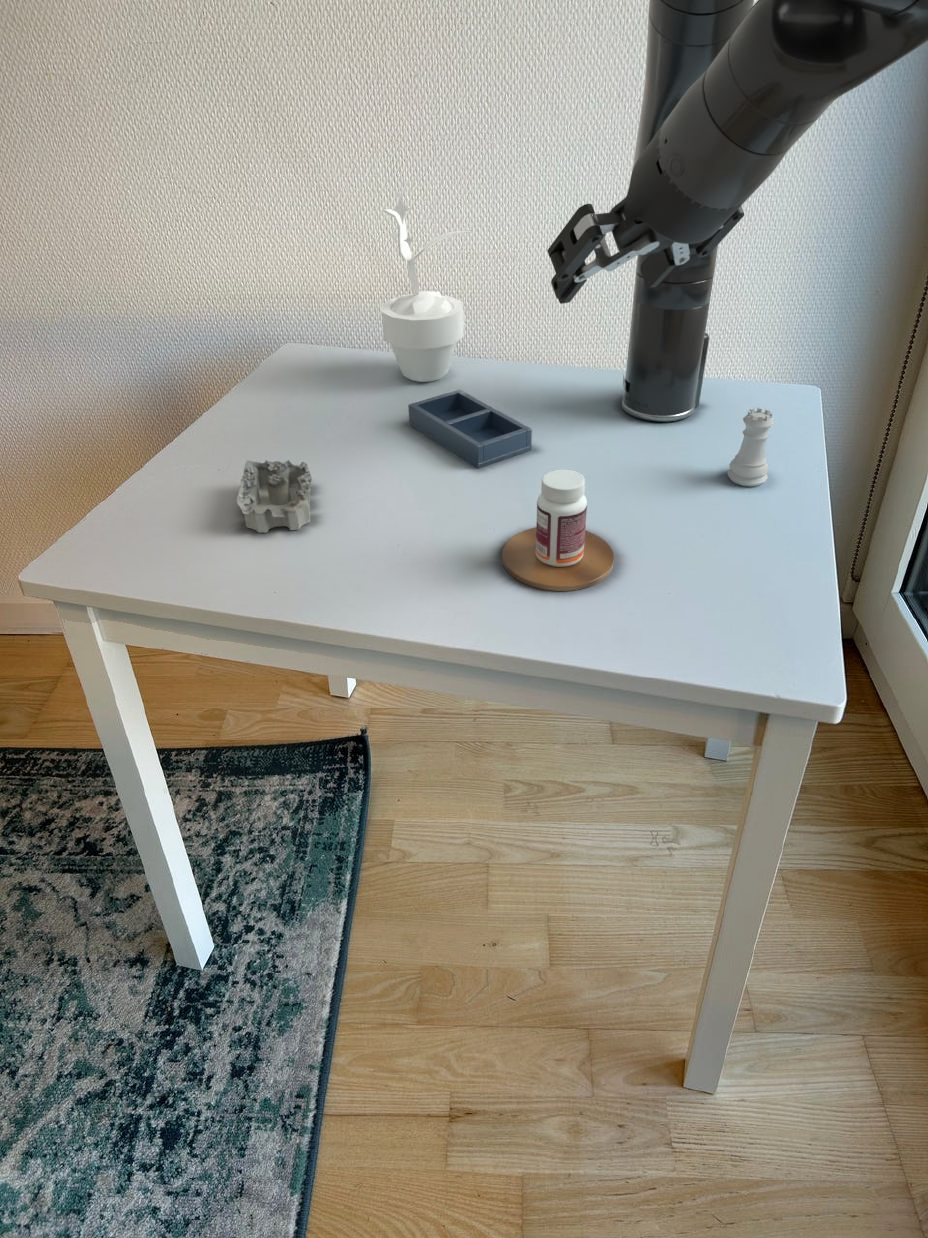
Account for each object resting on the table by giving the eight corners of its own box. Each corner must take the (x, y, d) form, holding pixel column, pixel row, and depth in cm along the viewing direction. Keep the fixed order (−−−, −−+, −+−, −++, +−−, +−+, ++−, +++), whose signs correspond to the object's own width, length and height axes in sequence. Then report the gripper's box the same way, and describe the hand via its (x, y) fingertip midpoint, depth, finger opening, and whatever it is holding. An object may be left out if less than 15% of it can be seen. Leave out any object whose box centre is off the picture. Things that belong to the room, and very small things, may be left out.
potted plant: (376, 388, 121) (360, 193, 106) (395, 358, 130) (383, 174, 115) (465, 393, 119) (461, 195, 104) (477, 362, 128) (476, 176, 113)
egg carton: (311, 531, 91) (306, 497, 88) (239, 536, 90) (232, 501, 88) (316, 482, 99) (311, 450, 96) (250, 486, 98) (244, 453, 96)
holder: (460, 409, 115) (459, 389, 113) (531, 450, 105) (532, 428, 103) (409, 424, 111) (408, 404, 109) (478, 468, 101) (478, 446, 99)
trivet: (564, 519, 92) (564, 514, 91) (637, 565, 84) (637, 560, 84) (480, 552, 87) (480, 547, 86) (550, 605, 79) (550, 599, 79)
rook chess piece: (770, 473, 99) (784, 407, 94) (763, 491, 96) (778, 423, 91) (730, 466, 100) (743, 401, 96) (722, 483, 97) (735, 416, 92)
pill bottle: (588, 546, 86) (594, 470, 81) (577, 571, 83) (582, 494, 77) (542, 538, 87) (545, 463, 82) (529, 563, 84) (531, 486, 79)
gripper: (776, 94, 60) (659, 233, 75) (601, 111, 55) (514, 256, 70) (814, 193, 59) (688, 312, 74) (640, 218, 54) (544, 340, 70)
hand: (603, 285), depth 72 cm, fingers open, 8 cm apart
